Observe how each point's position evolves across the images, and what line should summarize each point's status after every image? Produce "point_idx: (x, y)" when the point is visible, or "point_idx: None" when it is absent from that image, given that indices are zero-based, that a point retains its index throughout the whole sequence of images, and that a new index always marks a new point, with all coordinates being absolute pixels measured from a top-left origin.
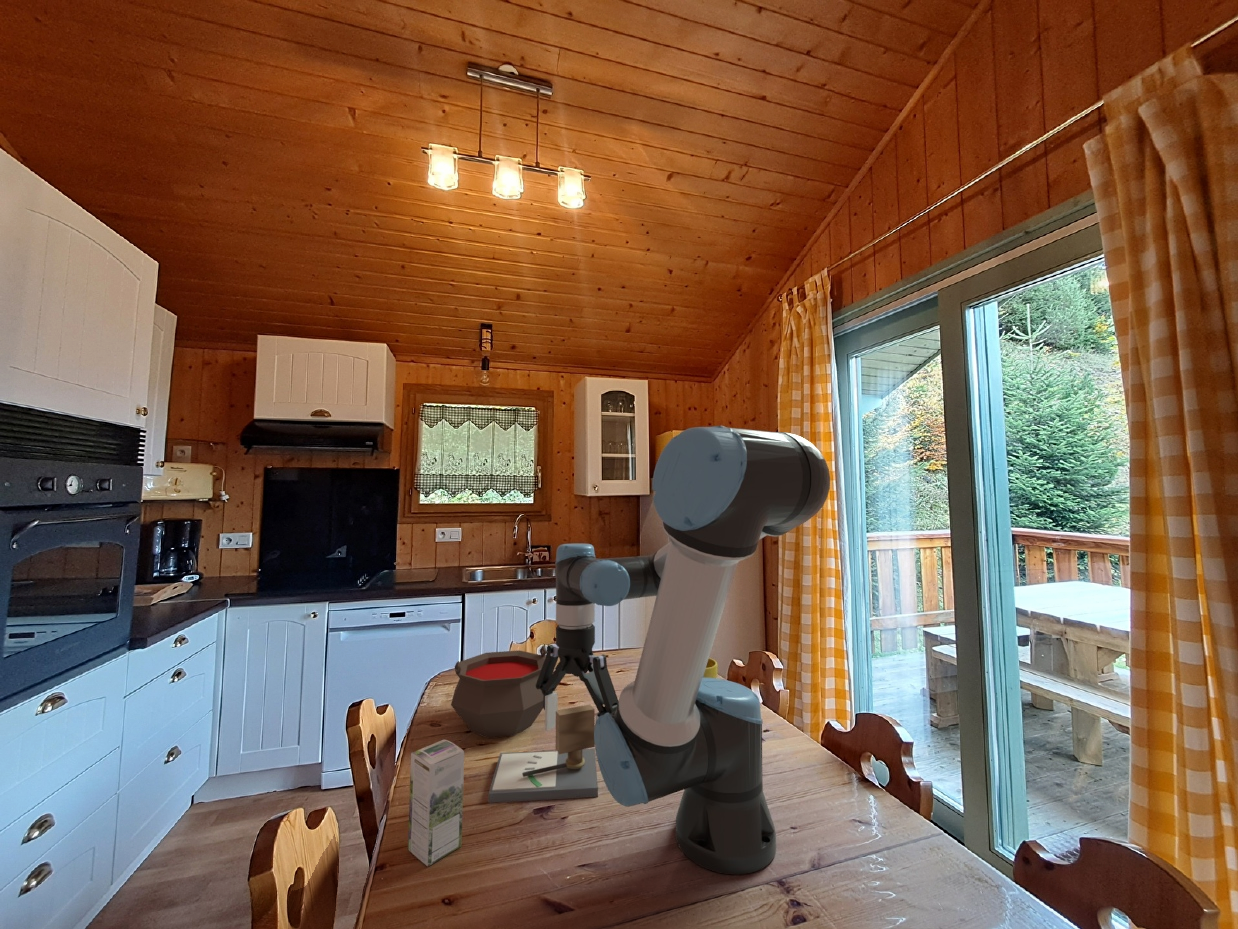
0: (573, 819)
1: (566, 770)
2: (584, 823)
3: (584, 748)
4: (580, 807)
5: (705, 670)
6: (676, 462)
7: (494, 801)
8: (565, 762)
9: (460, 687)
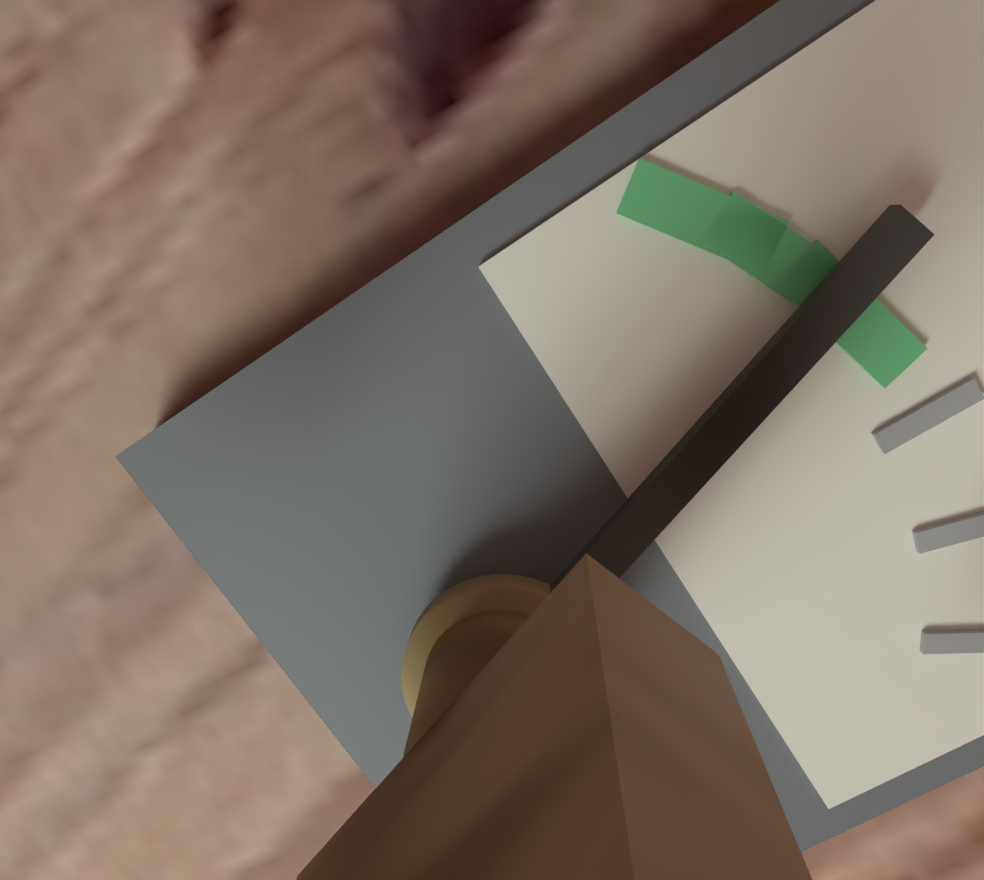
0: (130, 43)
1: (555, 572)
2: (14, 43)
3: (374, 796)
4: (187, 231)
5: None
6: None
7: None
8: None
9: None
